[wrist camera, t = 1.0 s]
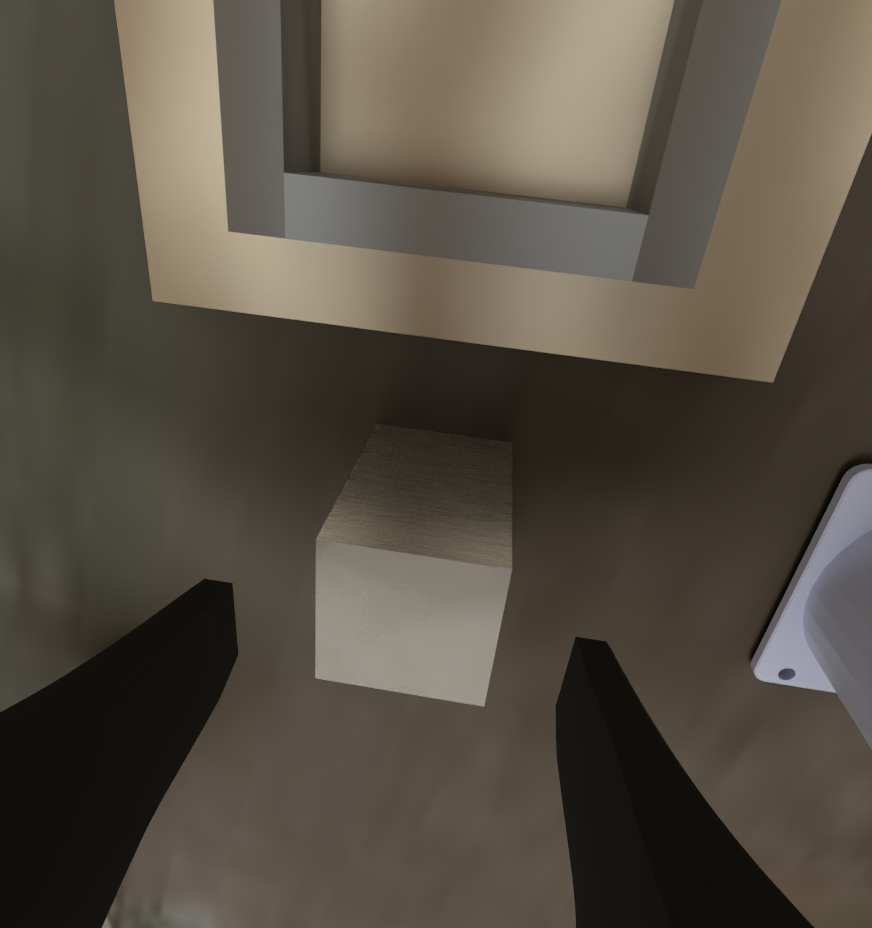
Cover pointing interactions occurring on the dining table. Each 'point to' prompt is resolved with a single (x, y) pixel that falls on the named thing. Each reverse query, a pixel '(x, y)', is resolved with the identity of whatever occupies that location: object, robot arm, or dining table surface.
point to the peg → (416, 565)
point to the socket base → (502, 166)
